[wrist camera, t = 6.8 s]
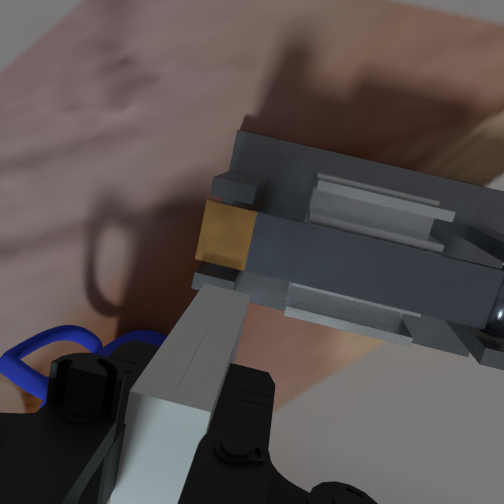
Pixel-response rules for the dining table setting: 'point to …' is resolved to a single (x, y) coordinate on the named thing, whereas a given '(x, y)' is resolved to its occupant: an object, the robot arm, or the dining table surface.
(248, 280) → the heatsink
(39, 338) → the mug
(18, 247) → the dining table surface
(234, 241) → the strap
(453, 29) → the dining table surface
